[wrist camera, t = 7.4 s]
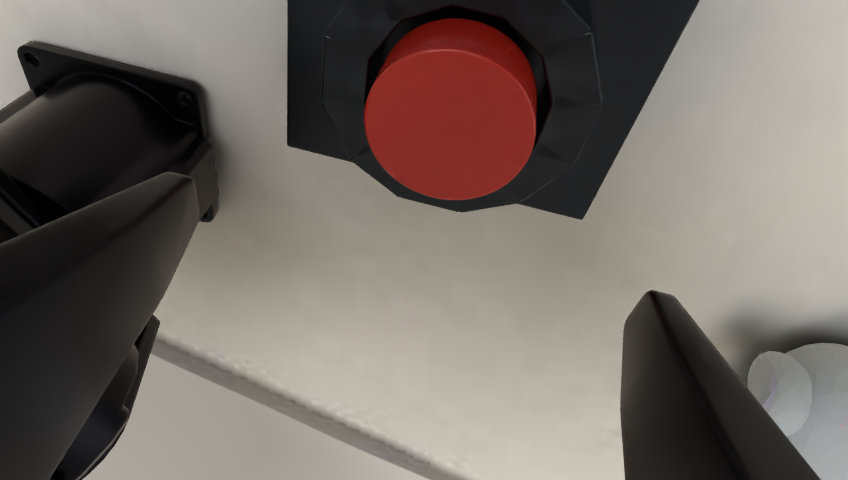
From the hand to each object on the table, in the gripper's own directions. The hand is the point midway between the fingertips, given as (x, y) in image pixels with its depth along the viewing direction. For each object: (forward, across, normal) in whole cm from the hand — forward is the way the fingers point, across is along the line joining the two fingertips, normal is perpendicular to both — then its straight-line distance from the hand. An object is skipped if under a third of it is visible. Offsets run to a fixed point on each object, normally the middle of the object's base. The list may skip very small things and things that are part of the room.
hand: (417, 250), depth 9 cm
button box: (+10, 0, 0) cm, 10 cm away
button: (+6, 0, 0) cm, 6 cm away
